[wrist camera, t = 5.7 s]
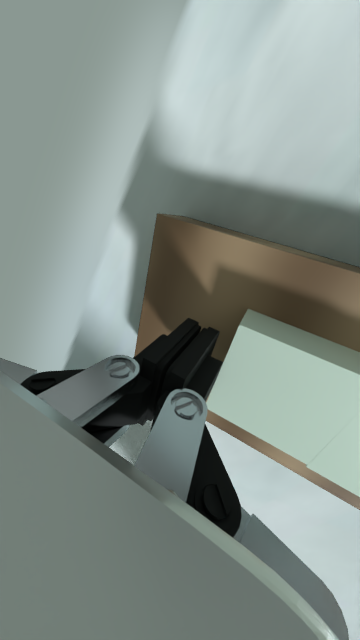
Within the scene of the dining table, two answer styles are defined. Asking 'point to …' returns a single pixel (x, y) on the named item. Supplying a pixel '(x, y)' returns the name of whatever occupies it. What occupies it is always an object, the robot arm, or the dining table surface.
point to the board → (246, 301)
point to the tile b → (341, 458)
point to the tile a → (287, 386)
